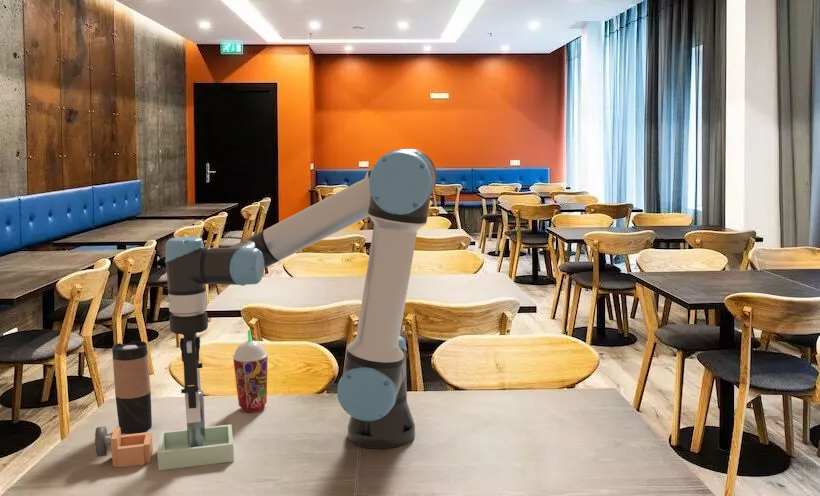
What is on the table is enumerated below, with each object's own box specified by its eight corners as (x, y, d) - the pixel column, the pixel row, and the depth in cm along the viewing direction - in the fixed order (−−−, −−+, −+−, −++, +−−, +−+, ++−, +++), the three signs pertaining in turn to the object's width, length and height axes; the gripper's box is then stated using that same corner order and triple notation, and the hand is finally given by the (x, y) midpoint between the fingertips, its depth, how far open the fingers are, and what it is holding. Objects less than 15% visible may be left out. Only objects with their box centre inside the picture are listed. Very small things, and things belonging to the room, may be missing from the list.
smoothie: (266, 414, 184) (262, 334, 181) (232, 415, 184) (227, 335, 181) (272, 402, 192) (269, 325, 189) (240, 402, 192) (236, 325, 189)
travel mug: (141, 436, 172) (135, 350, 169) (111, 433, 174) (104, 349, 170) (159, 423, 180) (153, 341, 176) (129, 421, 181) (123, 339, 178)
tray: (232, 440, 169) (231, 424, 168) (234, 461, 159) (233, 444, 158) (161, 448, 165) (160, 432, 165) (158, 470, 155) (157, 452, 154)
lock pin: (205, 447, 164) (203, 389, 162) (205, 453, 161) (203, 394, 159) (188, 448, 163) (185, 390, 161) (187, 455, 160) (185, 396, 158)
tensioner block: (153, 449, 165) (150, 416, 164) (150, 463, 158) (148, 429, 157) (101, 455, 162) (98, 421, 161) (96, 470, 155) (93, 435, 154)
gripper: (172, 300, 168) (178, 391, 171) (165, 328, 144) (173, 434, 147) (207, 297, 170) (212, 388, 173) (206, 325, 146) (213, 430, 149)
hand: (194, 410), depth 160 cm, fingers open, 13 cm apart
